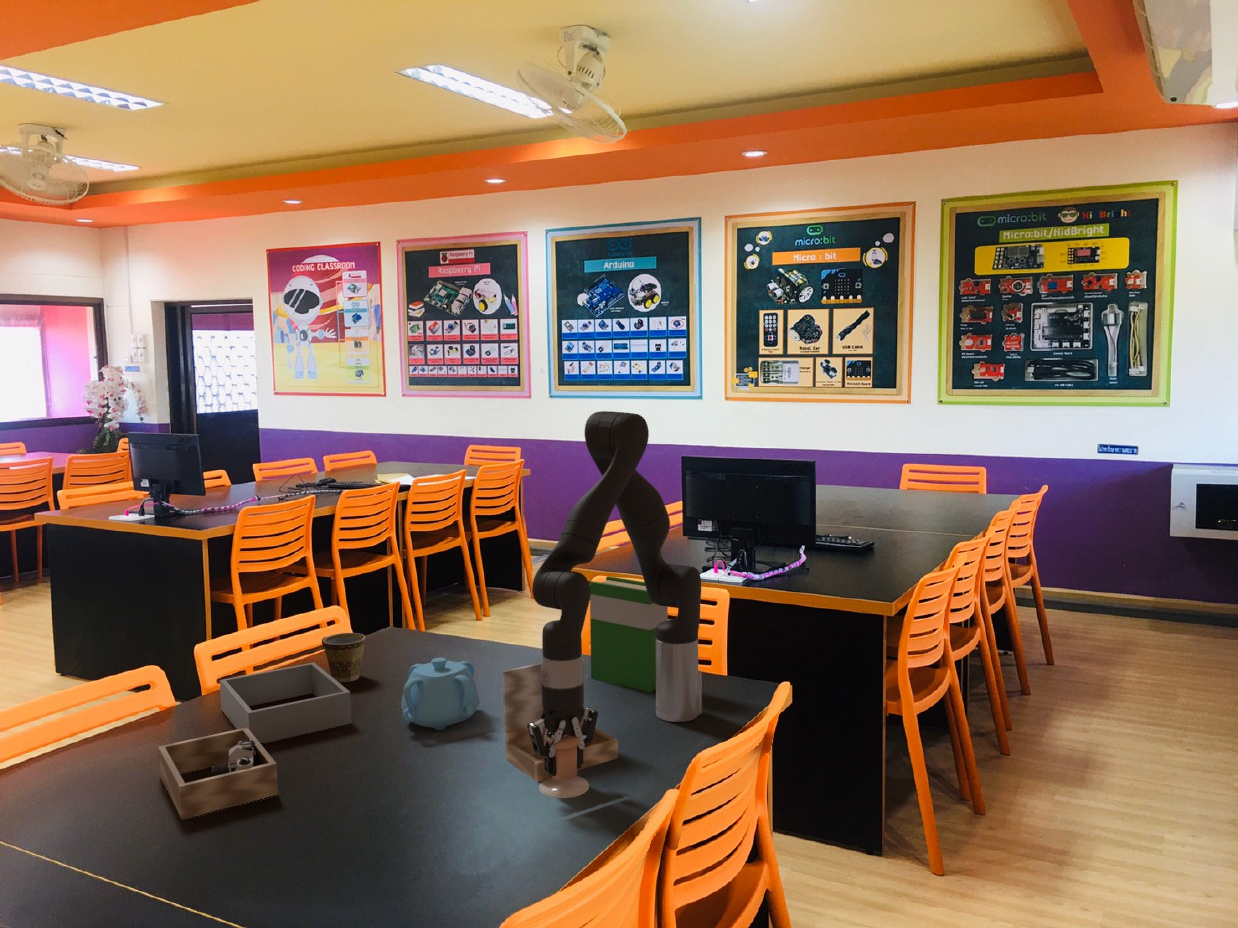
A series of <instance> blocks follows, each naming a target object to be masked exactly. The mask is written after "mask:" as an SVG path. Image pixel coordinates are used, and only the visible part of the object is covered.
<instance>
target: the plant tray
mask: <svg viewBox="0 0 1238 928" xmlns="http://www.w3.org/2000/svg"><path fill="white" fill-rule="evenodd" d="M219 685H220V686H219V687H220V702H221V704H220V707H221V708H220V709H221V711H222V713H223V712H224V713H223V714H224V715H225V716H227V717H226V718H227V719H228V718H229V719H228V720H229V722H230V723H231V724H232V725H233V727H234V728H235V730H237V729H242V728H246V727H247V728H248V729H249V730H250V732H251V733H252V734H253V735H254V737H255V738H256V739H257V740H258V741H259V743H260V744H261V743H264V744H268V743H272V742H276V741H281V740H284V738H286V739H289V738H294V737H298V736H302V735H301V734H303V735H306V734H305V733H307V734H311V733H315V732H321V731H323V730H329V729H333V728H337V726H338V727H342V726H347V725H350V724H353V723H352V702H351V691H350V690H349V689H347V688H346V687H344V686H343V685H342V683H341V682H337V681H336V680H335V679H334V678H333V677H331V674H329V673H327V671H326V670H324V669H323V668H322V667H320V666H319V665H318V664H316V662H310V663H304V664H299V665H293V666H289V667H284V668H283V667H282V668H277V669H271V670H267V671H262V672H261V671H260V672H255V673H251V674H246V675H239V676H234V677H228V678H224V679H220V680H219ZM310 694H311V695H312V694H313V696H315V697H312V698H306V699H302V700H297V701H292V702H287V703H282V704H278V705H273V706H269V707H263V708H259V709H254V710H252V709H251V708H250V707H251V706H252V707H253V706H258V705H262V704H266V703H272V702H276V701H281V700H286V699H290V698H296V697H300V696H306V695H310ZM328 728H329V729H328ZM261 745H262V744H261Z"/></svg>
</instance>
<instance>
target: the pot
mask: <svg viewBox="0 0 1238 928" xmlns="http://www.w3.org/2000/svg"><path fill="white" fill-rule="evenodd" d="M552 737H554V736H553V735H552ZM579 744H580V737H578V738H577V737H575V736H573V735H565V736H563V737H561V740H560V742H559V743H557V744H556V745H555V746H554V749H556V752H555V755H554V756H555V757H556V776H553V777H552V778H554V779H557V780H569V779H573V778H575V777H576V776H578V770H577V746H579ZM548 746H549V747H550V742H548Z"/></svg>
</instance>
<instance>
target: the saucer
mask: <svg viewBox="0 0 1238 928" xmlns="http://www.w3.org/2000/svg"><path fill="white" fill-rule="evenodd" d="M538 788H539V789H538V790H539V791H540V793H542V794H543V795H545V796H547V797H550V798H554V799H555V798H556V799H569V798H575V797H578V796H581V795H583V794H585V793H587V791H588V790H589V789H590V783H589V782H588V781H587V779H585V778H583V777H581V776H578V775H577V776H576V777H575V778H573V779H569V780H557V779H554V778H552V777H551V778H548V779H546V780H543V781H541V782H540V783H539V787H538Z"/></svg>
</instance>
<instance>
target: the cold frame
mask: <svg viewBox="0 0 1238 928" xmlns="http://www.w3.org/2000/svg"><path fill="white" fill-rule="evenodd" d="M582 661H583V673H584V674H585V671H584V669H585V668H584V666H585V664H584V661H585V660H584V654H583V653H582ZM541 667H542V662H538V663H535V664H531V665H530V664H529V665H525V666H520V667H516V668H511V669H506V670H503V671H502V686H503V687H502V692H503V693H502V697H503V732H504V733H505V753H506V755H505V757H506V761H507V762H508V763H509V764H511V765H512V766H514V767H515V768H517V769H518V770H520V771H521V772H522V773H524V774H525V775H527V776H528V778H531V779H532V780H533V781H535V782H537V783H541V782H543V781H544V780H546V779H548V778H551V776H550V775H548V774H547V773H546V772H545V770H544V756H543V757H542V756H540V755H539V754H538V753H536V752H534V750H533V746H532V743H531V739H530V735H529V732H528V728H527V724H528V723H529V722H532V723H535V722H537V721H538V720H540V719H541V716H542V714H543V706H542V678H541ZM583 677H584V678H585V675H584V676H583ZM583 708H584V709H585V702H584V703H583ZM583 720H584V719H583V718H582V720H581V722H580V724H579V726H580V729H581V730H582V725H583ZM545 732H546V727H545V726H543V733H542V734H541V735H542V738H543V742H545V739H544V735H545ZM616 759H619V740H617V739H616V738H614V737H612V736H611V735H609V734H607V733H606V732H603V731H602V730H600V729H598V728H596V727H595V732H594V737H593V741H592V742H591V743H587V744H586V745H585V746H584V748H583V765H581V768H580V769H577V771H579V770H583V769H587V768H590V767H593V766H596V765H601V764H604V763H606V762H610V761H613V760H616Z"/></svg>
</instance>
